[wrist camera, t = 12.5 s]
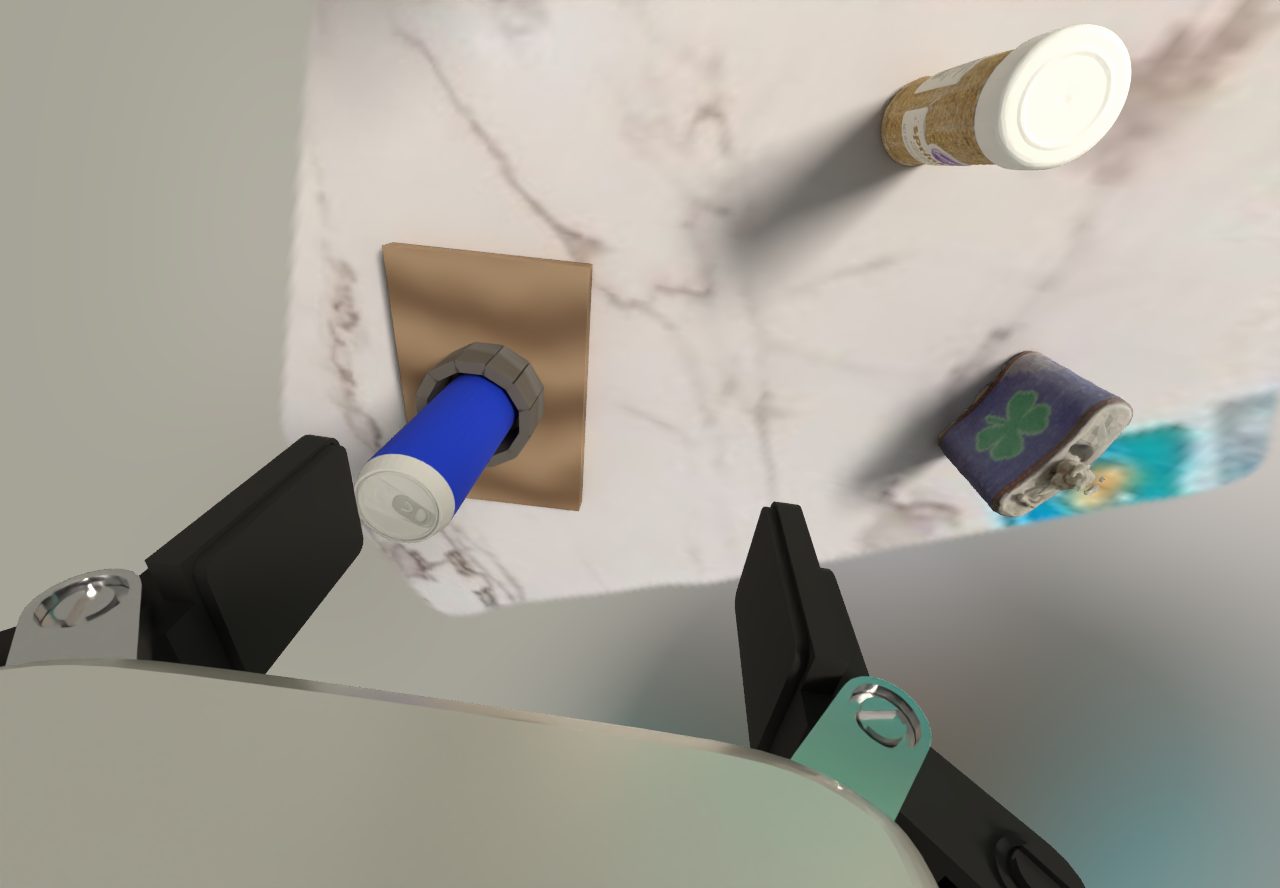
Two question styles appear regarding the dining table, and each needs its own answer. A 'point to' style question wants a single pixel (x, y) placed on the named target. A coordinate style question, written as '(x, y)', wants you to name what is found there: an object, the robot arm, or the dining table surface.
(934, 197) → the dining table surface
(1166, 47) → the dining table surface
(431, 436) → the beverage can
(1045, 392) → the flask
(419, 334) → the cup holder
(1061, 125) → the sprinkles bottle
